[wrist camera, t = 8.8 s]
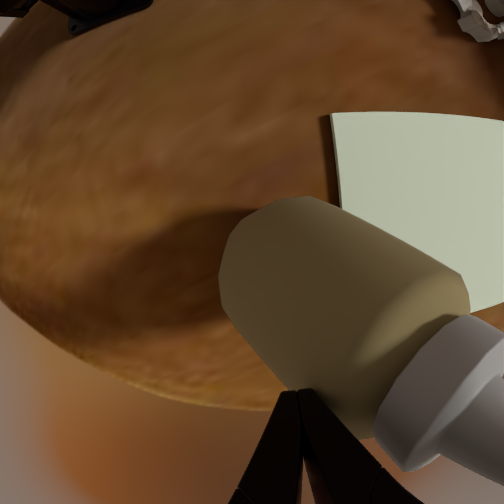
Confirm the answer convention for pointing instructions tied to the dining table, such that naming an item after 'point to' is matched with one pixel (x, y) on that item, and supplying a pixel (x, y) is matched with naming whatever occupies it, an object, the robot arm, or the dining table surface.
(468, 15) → the egg carton
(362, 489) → the robot arm
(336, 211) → the tan nozzle bottle
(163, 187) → the dining table surface
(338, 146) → the mat
